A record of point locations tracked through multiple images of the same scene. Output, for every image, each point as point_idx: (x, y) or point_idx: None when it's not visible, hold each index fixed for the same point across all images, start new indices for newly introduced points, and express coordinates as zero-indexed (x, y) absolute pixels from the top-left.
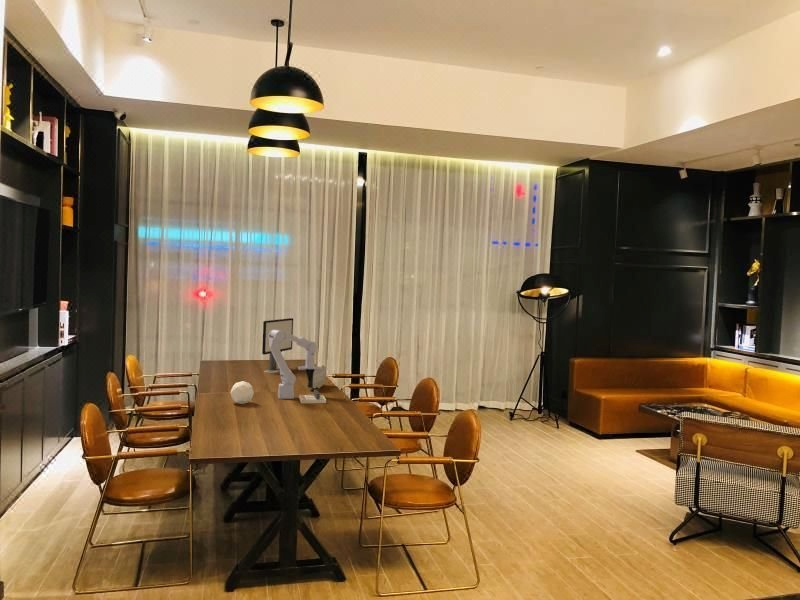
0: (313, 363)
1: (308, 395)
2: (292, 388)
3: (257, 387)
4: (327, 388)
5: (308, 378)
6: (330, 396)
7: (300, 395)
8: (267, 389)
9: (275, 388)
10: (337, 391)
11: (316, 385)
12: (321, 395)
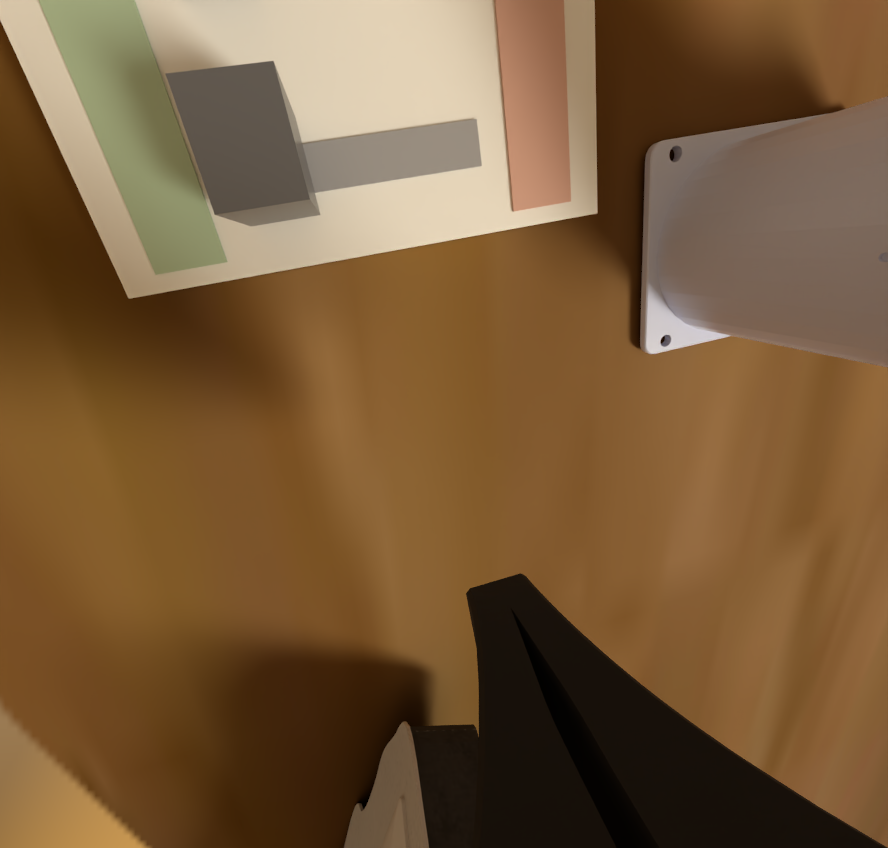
0: None
1: (427, 195)
2: (845, 148)
3: (864, 657)
4: (262, 843)
5: (571, 628)
6: (64, 470)
7: (576, 175)
8: (816, 618)
9: (744, 673)
10: (87, 779)
11: (374, 813)
12: (141, 220)
